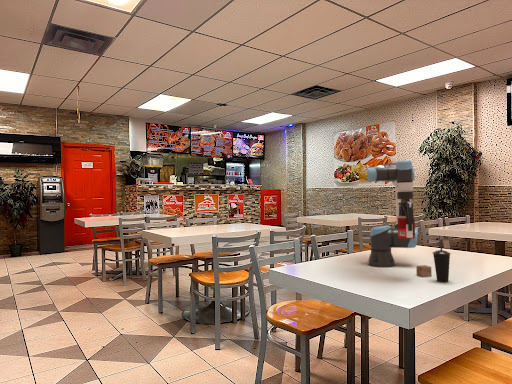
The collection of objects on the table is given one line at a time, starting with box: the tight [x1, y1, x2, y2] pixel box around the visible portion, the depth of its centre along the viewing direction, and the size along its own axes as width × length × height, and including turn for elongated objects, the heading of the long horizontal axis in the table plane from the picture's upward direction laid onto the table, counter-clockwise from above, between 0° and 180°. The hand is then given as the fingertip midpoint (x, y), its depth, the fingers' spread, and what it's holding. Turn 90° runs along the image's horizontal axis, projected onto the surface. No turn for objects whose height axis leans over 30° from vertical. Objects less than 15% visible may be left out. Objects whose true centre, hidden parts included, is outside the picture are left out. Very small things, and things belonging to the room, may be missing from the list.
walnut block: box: [415, 264, 433, 278], centre depth 183 cm, size 5×5×5 cm
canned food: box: [396, 216, 416, 239], centre depth 178 cm, size 8×8×11 cm
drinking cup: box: [432, 239, 451, 283], centre depth 171 cm, size 8×8×20 cm
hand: (406, 236), depth 178 cm, fingers closed on canned food, 8 cm apart
